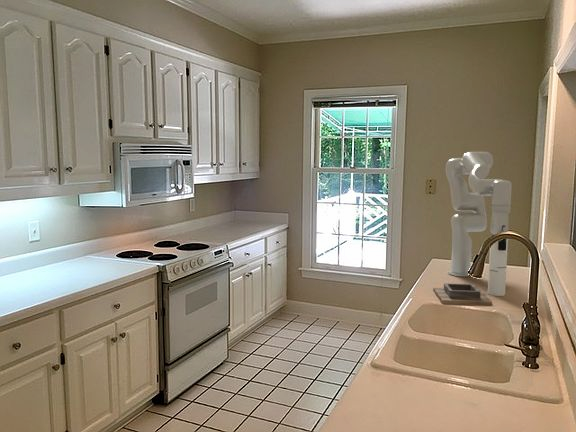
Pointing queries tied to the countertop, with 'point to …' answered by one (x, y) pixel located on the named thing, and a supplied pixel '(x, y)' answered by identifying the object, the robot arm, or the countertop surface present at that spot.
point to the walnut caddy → (461, 294)
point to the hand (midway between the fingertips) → (498, 248)
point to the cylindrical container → (497, 270)
